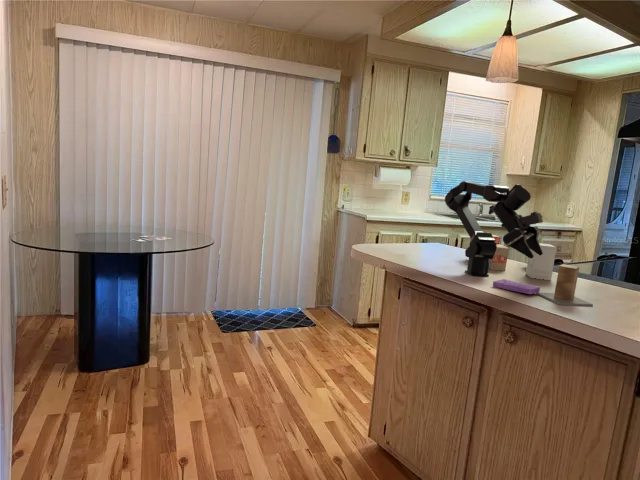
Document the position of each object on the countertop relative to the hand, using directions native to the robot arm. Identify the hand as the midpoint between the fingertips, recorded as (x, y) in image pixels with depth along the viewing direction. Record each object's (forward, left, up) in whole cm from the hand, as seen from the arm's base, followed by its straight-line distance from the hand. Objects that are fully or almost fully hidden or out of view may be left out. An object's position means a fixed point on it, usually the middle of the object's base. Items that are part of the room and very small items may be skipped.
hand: (537, 256), depth 144 cm
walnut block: (+4, -11, -11) cm, 16 cm away
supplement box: (+16, +19, -12) cm, 28 cm away
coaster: (+4, -11, -11) cm, 16 cm away
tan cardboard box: (+6, +39, -12) cm, 41 cm away
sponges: (-7, -1, -11) cm, 13 cm away
